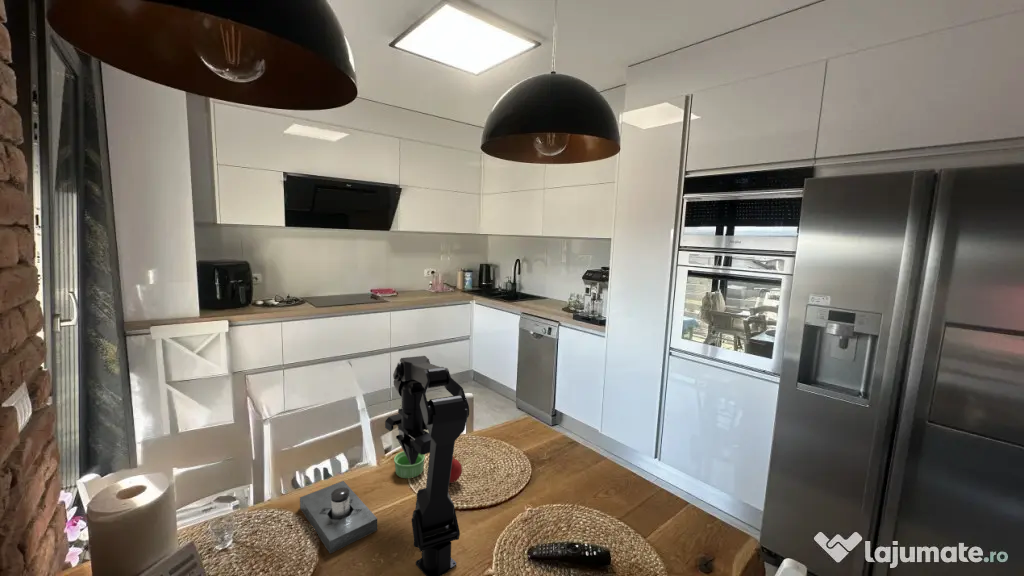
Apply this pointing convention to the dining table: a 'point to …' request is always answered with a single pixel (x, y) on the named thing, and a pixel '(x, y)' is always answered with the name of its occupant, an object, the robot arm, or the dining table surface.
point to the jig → (337, 531)
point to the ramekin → (408, 465)
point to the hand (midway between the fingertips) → (412, 463)
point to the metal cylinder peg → (340, 503)
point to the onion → (455, 470)
